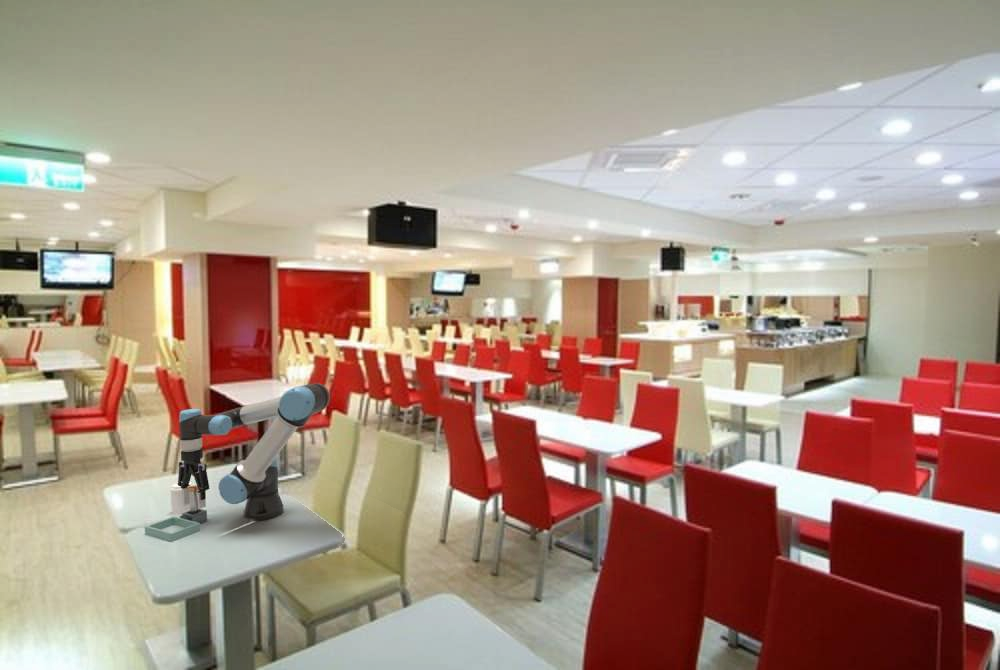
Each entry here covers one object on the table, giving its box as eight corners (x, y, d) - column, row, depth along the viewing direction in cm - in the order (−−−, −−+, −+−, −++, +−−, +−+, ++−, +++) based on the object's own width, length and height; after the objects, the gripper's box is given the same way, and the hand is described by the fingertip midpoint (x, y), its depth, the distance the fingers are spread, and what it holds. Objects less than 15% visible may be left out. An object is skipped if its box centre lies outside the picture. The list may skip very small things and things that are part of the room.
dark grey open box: (211, 522, 214) (210, 509, 214) (191, 529, 207) (191, 516, 206) (192, 517, 219) (191, 505, 219) (172, 524, 212) (171, 512, 212)
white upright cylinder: (198, 509, 229) (197, 481, 228) (185, 516, 221) (184, 487, 220) (180, 508, 230) (179, 481, 229) (167, 516, 221) (165, 487, 221)
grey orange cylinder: (201, 521, 213) (199, 486, 212) (193, 523, 210) (192, 488, 209) (196, 519, 214) (194, 485, 214) (188, 522, 211) (186, 487, 211)
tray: (200, 532, 203) (200, 523, 203) (171, 544, 194) (171, 533, 194) (174, 526, 211) (173, 516, 211) (145, 536, 201) (144, 526, 201)
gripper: (218, 449, 209) (220, 506, 210) (184, 444, 219) (186, 499, 220) (200, 454, 203) (202, 513, 204) (165, 448, 212) (168, 505, 213)
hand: (194, 505), depth 212 cm, fingers open, 9 cm apart
